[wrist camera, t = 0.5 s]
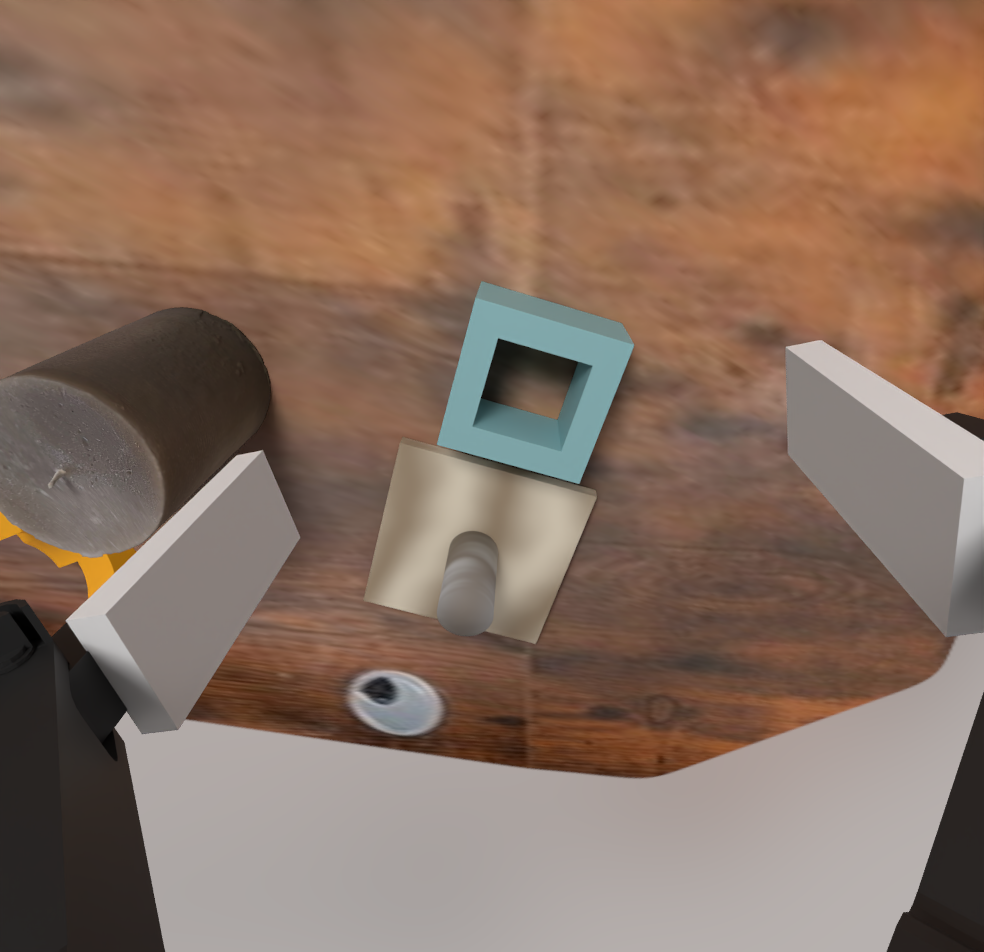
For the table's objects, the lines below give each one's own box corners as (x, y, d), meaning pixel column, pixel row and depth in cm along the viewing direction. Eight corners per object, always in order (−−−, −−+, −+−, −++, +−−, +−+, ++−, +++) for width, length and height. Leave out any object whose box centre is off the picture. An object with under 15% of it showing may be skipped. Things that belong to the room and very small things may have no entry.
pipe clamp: (23, 481, 46) (-49, 527, 40) (68, 462, 45) (1, 507, 39) (123, 602, 51) (72, 659, 45) (166, 587, 50) (119, 643, 44)
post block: (366, 592, 49) (338, 666, 42) (402, 436, 42) (377, 492, 35) (535, 635, 50) (537, 714, 43) (595, 490, 43) (609, 554, 36)
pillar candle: (249, 300, 39) (103, 375, 25) (287, 442, 43) (179, 569, 30) (103, 312, 39) (-113, 391, 26) (155, 451, 44) (-7, 578, 31)
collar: (446, 414, 41) (436, 444, 37) (481, 281, 37) (475, 297, 33) (573, 449, 42) (579, 484, 38) (621, 323, 38) (634, 344, 34)
